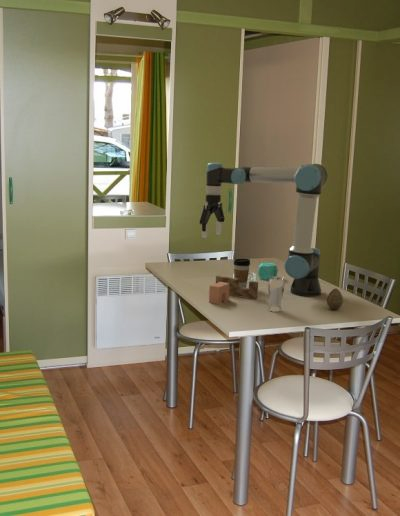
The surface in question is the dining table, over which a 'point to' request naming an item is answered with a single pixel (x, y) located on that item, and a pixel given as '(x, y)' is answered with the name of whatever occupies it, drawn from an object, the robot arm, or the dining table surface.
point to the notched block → (219, 292)
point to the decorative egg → (334, 299)
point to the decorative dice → (267, 271)
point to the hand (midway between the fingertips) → (211, 236)
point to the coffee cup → (241, 271)
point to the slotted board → (237, 290)
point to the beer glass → (275, 293)
